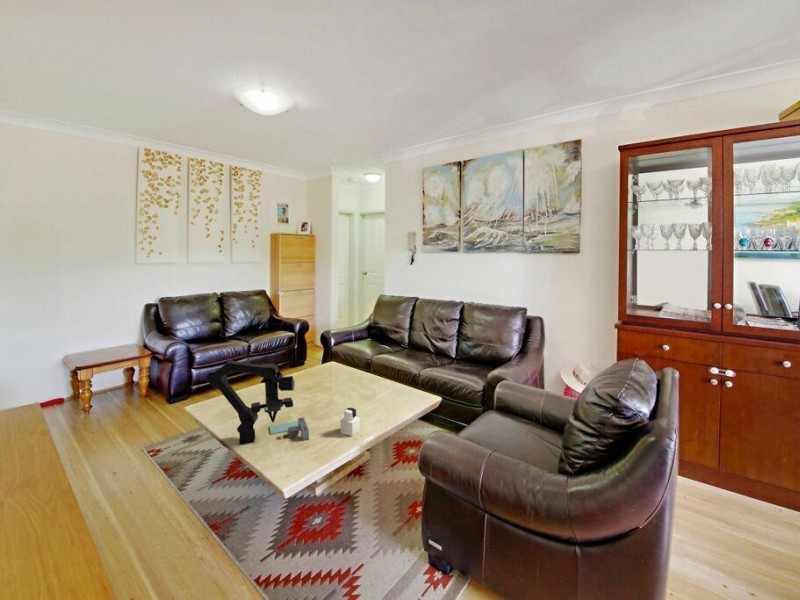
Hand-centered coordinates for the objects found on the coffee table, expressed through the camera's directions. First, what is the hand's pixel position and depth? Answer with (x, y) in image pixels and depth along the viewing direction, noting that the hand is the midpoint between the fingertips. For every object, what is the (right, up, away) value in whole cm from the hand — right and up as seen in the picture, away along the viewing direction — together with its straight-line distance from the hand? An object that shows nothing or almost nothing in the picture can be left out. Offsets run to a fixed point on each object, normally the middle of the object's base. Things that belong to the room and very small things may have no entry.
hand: (272, 421), depth 176 cm
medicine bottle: (+36, -8, +8) cm, 38 cm away
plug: (+7, -8, +4) cm, 12 cm away
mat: (+2, -7, +13) cm, 15 cm away
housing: (+13, -8, +7) cm, 17 cm away
